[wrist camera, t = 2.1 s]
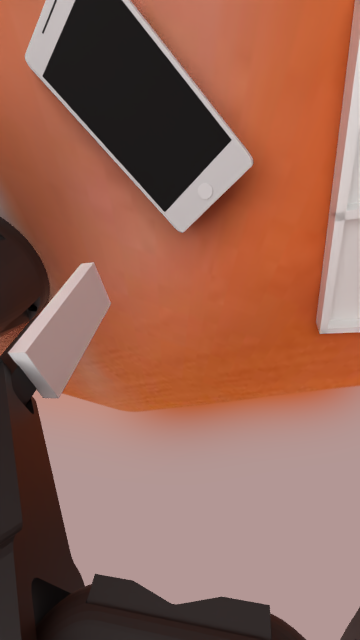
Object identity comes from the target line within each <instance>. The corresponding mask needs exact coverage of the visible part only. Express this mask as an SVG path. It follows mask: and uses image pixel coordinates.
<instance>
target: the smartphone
mask: <svg viewBox="0 0 360 640" xmlns="http://www.w3.org/2000/svg"><path fill="white" fill-rule="evenodd" d="M25 60H26V62H27V64H28V65H29V67H30V68H31V69H32V70H33V71H34V73H35V74H36V75H37V76H38V77H39V78H40V79H41V80H42V81H43V83H44V84H45V85H46V86H47V87H48V88H49V89H50V90H51V91H52V92H53V94H54V95H55V96H56V97H57V98H58V99H59V100H60V101H61V102H62V104H63V105H64V106H65V107H66V108H67V109H68V110H69V111H70V112H71V114H72V115H73V116H74V117H75V118H76V119H77V120H78V121H79V122H80V123H81V125H82V126H83V127H84V128H85V129H86V130H87V131H88V132H89V133H90V135H91V136H92V137H93V138H94V139H95V140H96V141H97V142H98V143H99V145H100V146H101V147H102V148H103V149H104V150H105V151H106V152H107V153H108V154H109V156H110V157H111V158H112V159H113V160H114V161H115V162H116V163H117V164H118V166H119V167H120V168H121V169H122V170H123V171H124V172H125V173H126V174H127V176H128V177H129V178H130V179H131V180H132V181H133V182H134V183H135V184H136V185H137V187H138V188H139V189H140V190H141V191H142V192H143V193H144V194H145V195H146V197H147V198H148V199H149V200H150V201H151V202H152V203H153V204H154V205H155V207H156V208H157V209H158V210H159V211H160V212H161V213H162V214H163V215H164V217H165V218H166V219H167V220H168V221H169V222H170V223H171V224H172V225H173V226H174V228H175V229H176V230H178V231H179V232H182V233H183V232H184V231H185V230H186V229H187V228H189V227H190V226H191V225H192V224H193V223H194V222H195V221H196V220H197V219H198V218H199V217H200V216H201V215H202V214H203V213H204V212H205V211H206V210H207V209H208V208H209V207H210V206H211V205H212V204H213V203H214V202H215V201H216V200H217V199H218V198H219V197H220V196H221V195H222V194H224V193H225V192H226V191H227V190H228V189H229V188H230V187H231V186H232V185H233V184H234V183H235V182H236V181H237V180H238V179H239V178H240V177H241V176H242V175H243V174H244V173H245V172H246V171H247V170H248V169H249V168H250V167H251V166H252V165H253V158H252V156H251V154H250V153H249V152H248V150H247V149H246V148H245V146H244V145H243V144H242V143H241V141H240V140H239V139H238V137H237V136H236V135H235V134H234V132H233V131H232V130H231V128H230V127H229V126H228V125H227V123H226V122H225V121H224V119H223V118H222V117H221V116H220V114H219V113H218V112H217V110H216V109H215V108H214V107H213V105H212V104H211V103H210V102H209V100H208V99H207V98H206V96H205V95H204V94H203V93H202V91H201V90H200V89H199V87H198V86H197V85H196V84H195V82H194V81H193V80H192V78H191V77H190V76H189V75H188V73H187V72H186V71H185V69H184V68H183V67H182V66H181V64H180V63H179V62H178V60H177V59H176V58H175V57H174V55H173V54H172V53H171V51H170V50H169V49H168V48H167V46H166V45H165V44H164V43H163V41H162V40H161V39H160V37H159V36H158V35H157V34H156V32H155V31H154V30H153V28H152V27H151V26H150V25H149V23H148V22H147V21H146V19H145V18H144V17H143V16H142V14H141V13H140V12H139V10H138V9H137V8H136V7H135V5H134V4H133V3H132V1H131V0H46V2H45V4H44V7H43V9H42V12H41V15H40V17H39V20H38V22H37V25H36V28H35V30H34V33H33V35H32V38H31V41H30V43H29V46H28V48H27V51H26V54H25Z"/></svg>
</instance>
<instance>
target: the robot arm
mask: <svg viewBox="0 0 360 640" xmlns="http://www.w3.org/2000/svg"><path fill="white" fill-rule="evenodd" d="M48 297H49V280H48V276H47V272H46V269H45V267H44V265H43V263H42V261H41V259H40V257H39V256H38V254H37V253H36V251H35V250H34V248H33V247H32V246H31V244H30V243H29V242H28V241H27V240H26V239H25V237H24V236H23V235H22V234H21V233H20V232H19V231H18V230H16V229H15V228H14V227H13V226H12V225H11V224H9V223H8V222H7V221H5V220H4V219H3V218H1V217H0V337H2V336H3V335H5V334H7V333H9V332H11V331H12V330H14V329H16V328H18V327H20V326H21V325H23V324H25V323H27V322H29V321H30V320H31V321H30V322H29V323H28V324H27V325H26V326H25V328H24V329H23V331H21V332H20V333H19V335H18V337H16V338H15V339H14V341H13V342H12V343H11V344H10V345H9V347H8V348H7V349H6V350H5V351H4V353H3V354H2V355H1V356H0V640H306V639H305V638H304V637H302V635H301V634H299V633H298V632H297V631H296V630H295V629H294V628H292V627H291V626H290V625H288V624H287V623H286V622H284V621H283V620H282V619H280V618H278V617H276V616H274V615H272V614H270V606H269V605H264V604H259V603H254V602H248V601H243V600H237V599H232V598H226V597H218V598H212V599H207V600H201V601H195V602H190V603H184V604H177V605H175V604H171V603H169V602H167V601H166V600H164V599H162V598H161V597H159V596H157V595H156V594H154V593H153V592H151V591H149V590H147V589H146V588H144V587H143V586H141V585H139V584H138V583H136V582H134V581H132V580H126V579H120V578H114V577H109V576H103V575H98V574H95V576H94V579H93V582H92V584H91V585H88V586H85V585H84V582H83V580H82V577H81V575H80V573H79V571H78V569H77V568H76V566H75V564H74V562H73V560H72V557H71V553H70V549H69V545H68V540H67V536H66V532H65V527H64V523H63V518H62V515H61V510H60V505H59V501H58V497H57V492H56V488H55V483H54V479H53V474H52V470H51V466H50V461H49V457H48V453H47V448H46V444H45V439H44V435H43V430H42V426H41V422H40V417H39V413H38V408H37V404H36V401H35V399H34V398H33V397H32V395H33V394H34V392H35V391H36V389H37V391H38V392H39V393H40V394H41V396H42V397H43V398H59V397H60V395H61V393H62V392H63V390H64V388H65V386H66V384H67V383H68V381H69V379H70V377H71V375H72V374H73V372H74V370H75V368H76V366H77V365H78V363H79V361H80V359H81V357H82V356H83V354H84V352H85V350H86V348H87V347H88V345H89V343H90V341H91V339H92V337H93V336H94V334H95V332H96V330H97V328H98V327H99V325H100V323H101V321H102V319H103V318H104V316H105V314H106V312H107V310H108V309H109V307H110V305H111V302H110V300H109V297H108V295H107V292H106V290H105V288H104V285H103V283H102V280H101V278H100V276H99V273H98V271H97V269H96V266H95V264H94V262H92V263H83V264H80V266H79V267H78V268H77V269H76V271H75V272H74V273H73V274H72V275H71V277H70V278H69V279H68V280H67V281H66V283H65V284H64V285H63V286H62V288H61V289H60V290H59V291H58V292H57V294H56V295H55V296H54V297H53V299H52V300H51V301H50V302H49V303H48V305H47V306H46V307H45V308H44V309H43V307H44V306H45V305H46V303H47V300H48ZM42 309H43V311H42V312H41V313H40V314H39V312H40V311H41V310H42ZM38 314H39V315H38ZM37 315H38V316H37ZM34 317H35V318H34ZM33 318H34V319H33ZM341 640H360V608H359V609H358V611H357V613H356V614H355V616H354V618H353V619H352V620H351V622H350V623H349V625H348V627H347V629H346V630H345V632H344V634H343V636H342V637H341Z"/></svg>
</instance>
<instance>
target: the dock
mask: <svg viewBox="0 0 360 640" xmlns="http://www.w3.org/2000/svg"><path fill="white" fill-rule="evenodd" d="M316 324H317V327H318V331H319V334H328V333H353V332H360V0H355V5H354V13H353V21H352V29H351V37H350V46H349V54H348V62H347V70H346V79H345V87H344V95H343V103H342V112H341V120H340V128H339V136H338V144H337V153H336V161H335V169H334V177H333V186H332V194H331V202H330V210H329V219H328V227H327V235H326V243H325V251H324V260H323V268H322V276H321V284H320V293H319V301H318V309H317V317H316Z"/></svg>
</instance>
